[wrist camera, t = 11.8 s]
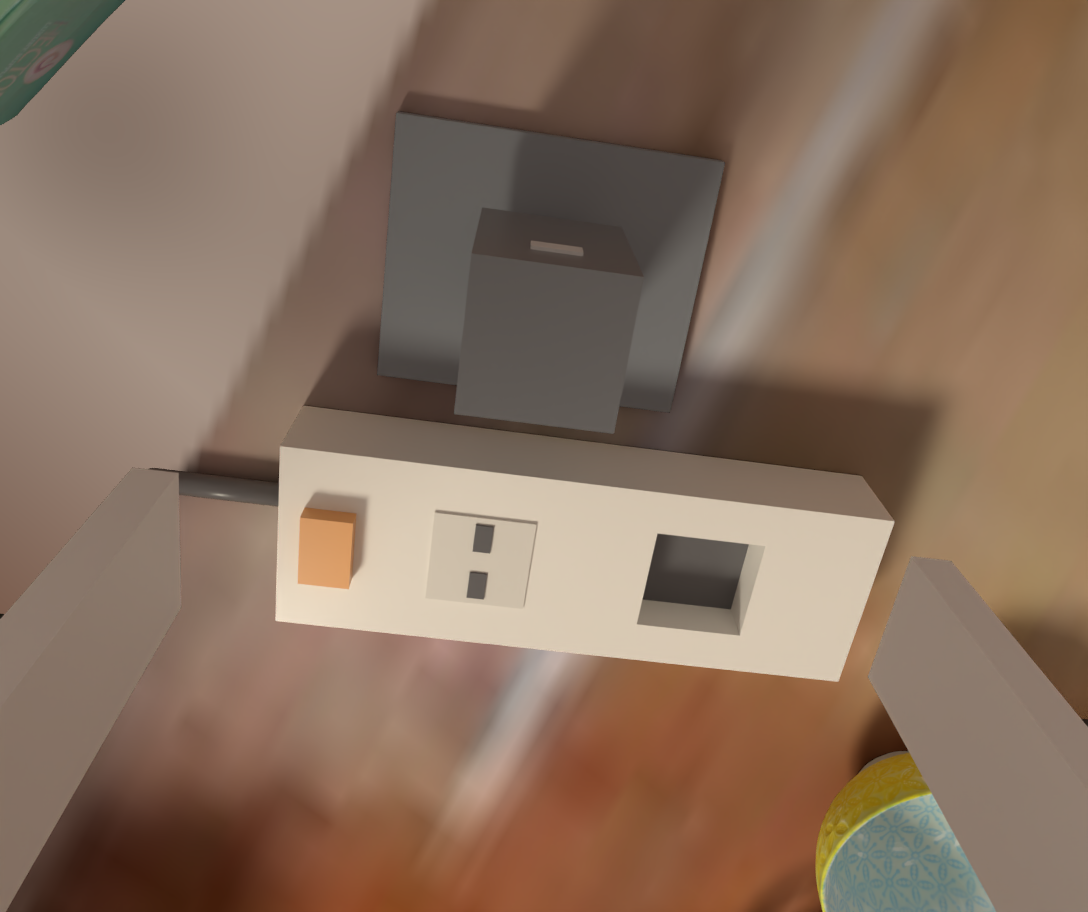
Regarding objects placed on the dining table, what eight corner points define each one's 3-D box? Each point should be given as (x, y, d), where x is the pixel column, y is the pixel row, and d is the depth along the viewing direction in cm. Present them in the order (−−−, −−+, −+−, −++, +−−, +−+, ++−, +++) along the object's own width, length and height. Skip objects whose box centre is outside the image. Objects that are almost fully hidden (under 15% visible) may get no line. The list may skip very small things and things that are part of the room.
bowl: (985, 665, 45) (1050, 758, 39) (1024, 825, 49) (1088, 928, 44) (759, 736, 46) (791, 835, 41) (818, 884, 51) (854, 991, 45)
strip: (149, 551, 41) (105, 614, 37) (142, 385, 38) (92, 433, 33) (812, 626, 43) (843, 693, 39) (861, 475, 40) (902, 531, 36)
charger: (469, 327, 36) (453, 414, 28) (484, 195, 34) (471, 249, 26) (595, 343, 37) (614, 433, 29) (617, 214, 34) (644, 273, 27)
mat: (379, 369, 38) (377, 375, 37) (398, 111, 33) (396, 112, 33) (667, 407, 38) (669, 412, 38) (722, 160, 34) (725, 162, 34)
